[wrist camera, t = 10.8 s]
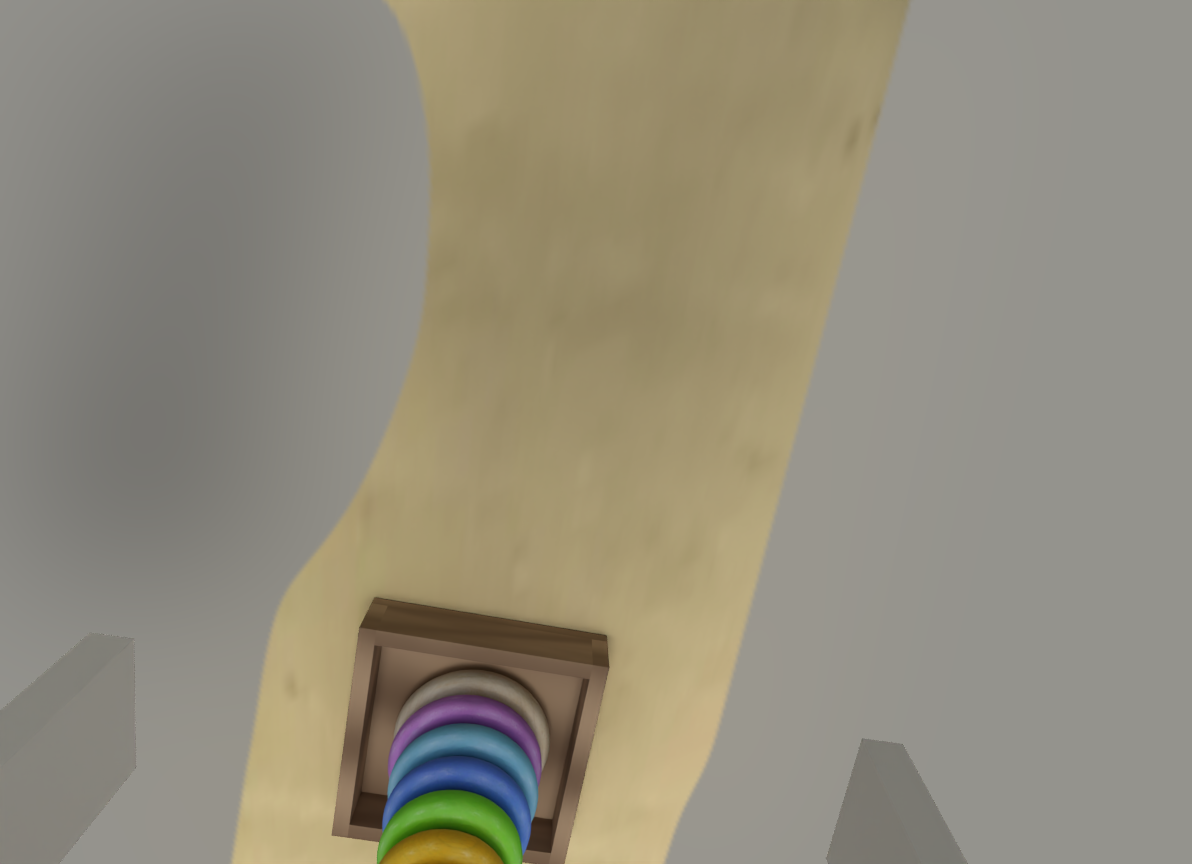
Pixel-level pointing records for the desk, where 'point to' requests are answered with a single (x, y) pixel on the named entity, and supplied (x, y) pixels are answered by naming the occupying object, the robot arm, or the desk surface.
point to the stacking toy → (464, 772)
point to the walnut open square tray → (469, 642)
